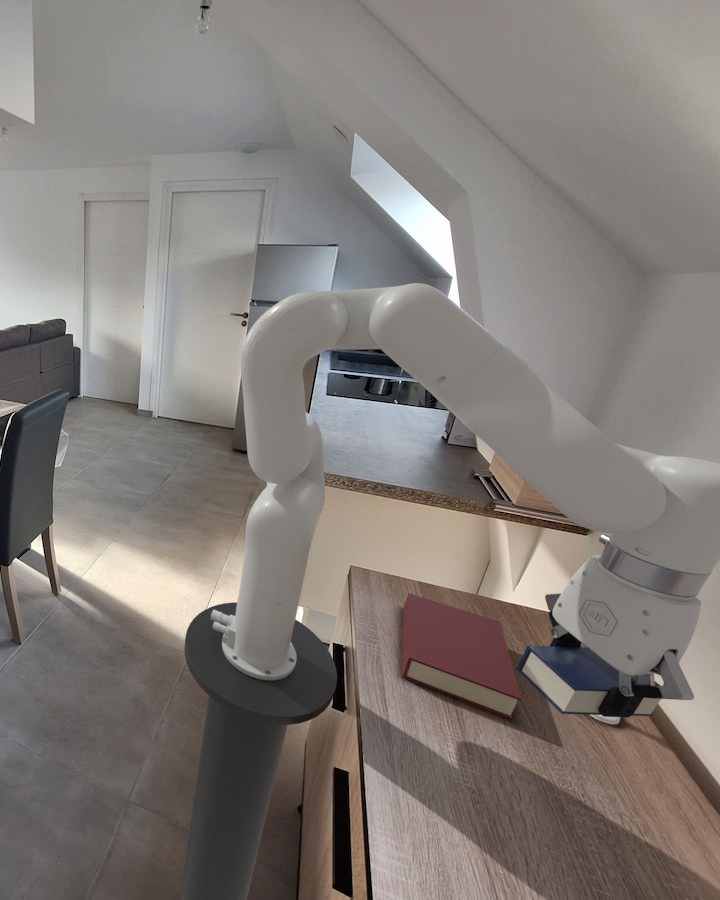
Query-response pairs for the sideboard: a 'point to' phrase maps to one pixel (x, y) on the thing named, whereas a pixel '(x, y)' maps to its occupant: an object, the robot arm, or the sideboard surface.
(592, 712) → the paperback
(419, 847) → the sideboard surface
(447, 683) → the hardback
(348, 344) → the robot arm
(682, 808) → the sideboard surface
